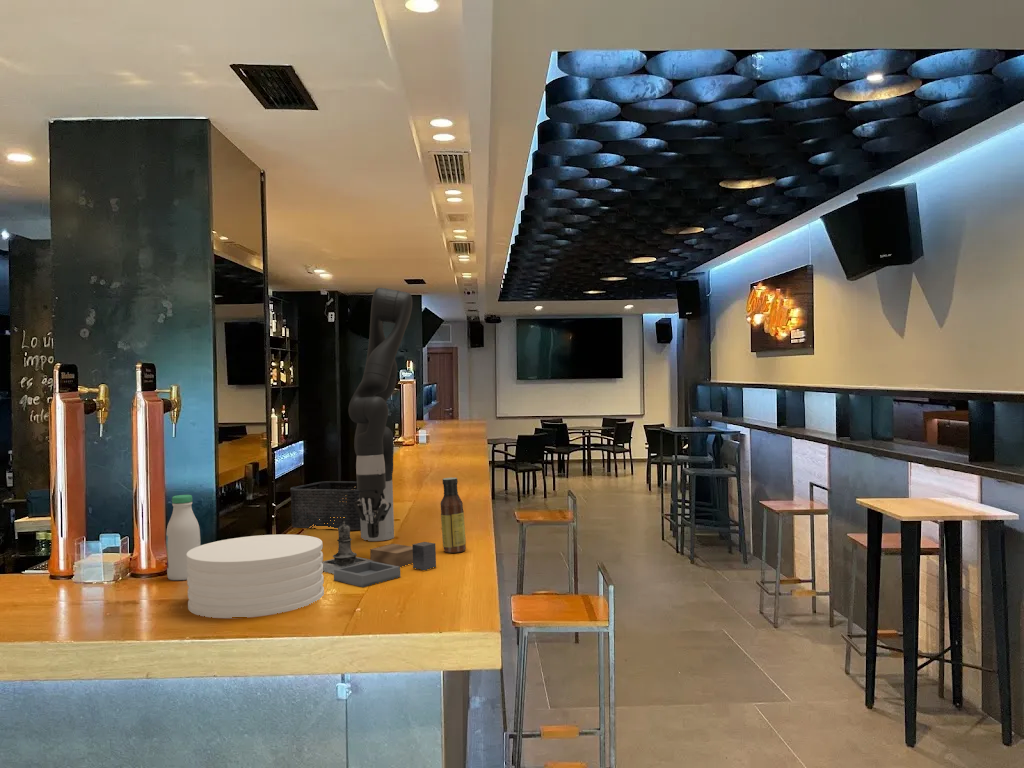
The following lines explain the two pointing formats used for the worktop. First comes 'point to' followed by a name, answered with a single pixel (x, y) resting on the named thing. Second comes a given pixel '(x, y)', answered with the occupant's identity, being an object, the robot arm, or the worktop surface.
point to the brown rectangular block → (392, 554)
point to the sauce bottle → (452, 518)
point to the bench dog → (424, 555)
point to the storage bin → (325, 505)
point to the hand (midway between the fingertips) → (373, 537)
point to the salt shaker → (344, 547)
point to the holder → (331, 565)
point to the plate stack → (254, 575)
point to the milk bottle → (181, 537)
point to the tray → (366, 573)
